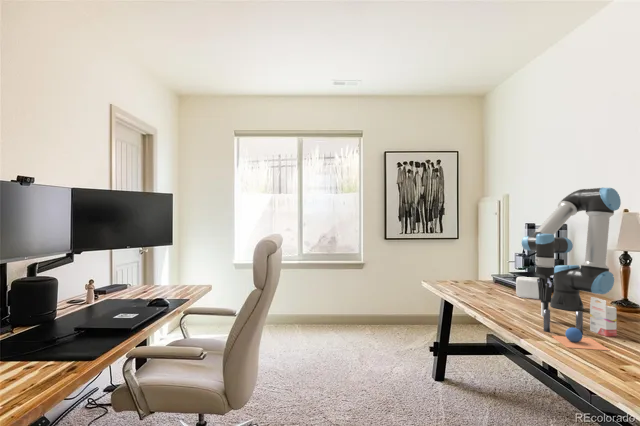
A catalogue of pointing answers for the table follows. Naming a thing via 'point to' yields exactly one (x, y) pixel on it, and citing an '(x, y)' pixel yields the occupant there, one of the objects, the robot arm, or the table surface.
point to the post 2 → (579, 321)
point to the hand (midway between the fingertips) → (544, 316)
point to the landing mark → (580, 343)
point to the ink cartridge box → (602, 318)
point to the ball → (573, 334)
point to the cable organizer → (527, 287)
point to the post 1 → (546, 320)
